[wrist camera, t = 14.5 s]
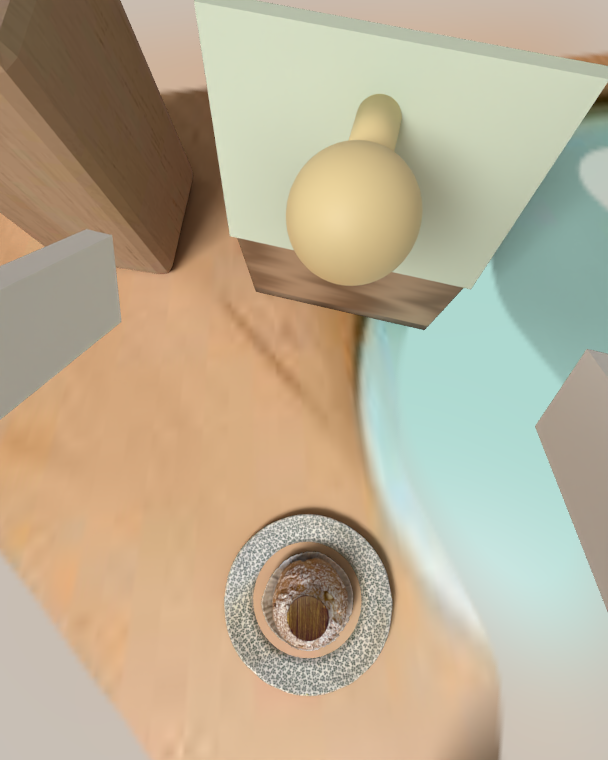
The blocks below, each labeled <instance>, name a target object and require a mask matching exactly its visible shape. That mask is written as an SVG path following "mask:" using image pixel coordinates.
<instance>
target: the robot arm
mask: <svg viewBox="0 0 608 760" xmlns="http://www.w3.org/2000/svg"><path fill="white" fill-rule="evenodd" d="M120 322H121V313H120V304H119V294H118V285H117V275H116V266H115V256H114V247H113V238H112V235H109V234H105V233H101V232H96V231H92V230H88V229H86V230H83V231H81V232H79V233H76V234H74V235H72V236H69V237H67V238H65V239H63V240H60V241H58V242H56V243H53V244H51V245H49V246H46V247H44V248H42V249H39V250H37V251H35V252H32V253H30V254H28V255H25V256H23V257H21V258H18V259H16V260H14V261H11V262H9V263H7V264H4V265H2V266H0V419H2V418H3V417H4V416H5V415H7V414H8V413H9V412H10V411H12V410H13V409H14V408H15V407H17V406H18V405H19V404H20V403H22V402H23V401H24V400H25V399H26V398H28V397H29V396H30V395H31V394H33V393H34V392H35V391H36V390H38V389H39V388H40V387H41V386H43V385H44V384H45V383H46V382H47V381H49V380H50V379H51V378H52V377H54V376H55V375H56V374H57V373H59V372H60V371H61V370H62V369H64V368H65V367H66V366H67V365H68V364H70V363H71V362H72V361H73V360H75V359H76V358H77V357H78V356H80V355H81V354H82V353H83V352H85V351H86V350H87V349H88V348H90V347H91V346H92V345H93V344H94V343H96V342H97V341H98V340H99V339H101V338H102V337H103V336H104V335H106V334H107V333H108V332H109V331H111V330H112V329H113V328H114V327H115V326H117V325H118V324H119V323H120ZM535 428H536V430H537V433H538V435H539V438H540V440H541V443H542V445H543V448H544V450H545V453H546V456H547V458H548V460H549V463H550V466H551V468H552V471H553V473H554V476H555V478H556V481H557V484H558V486H559V489H560V491H561V494H562V496H563V499H564V501H565V504H566V507H567V509H568V512H569V514H570V517H571V519H572V522H573V524H574V527H575V530H576V532H577V535H578V537H579V540H580V542H581V545H582V547H583V550H584V552H585V555H586V558H587V560H588V563H589V565H590V568H591V570H592V573H593V575H594V578H595V581H596V583H597V586H598V588H599V591H600V593H601V596H602V599H603V601H604V603H605V606H606V609H607V611H608V354H606V353H602V352H598V351H594V350H590V349H587V350H586V351H585V353H584V354H583V356H582V357H581V358H580V360H579V361H578V363H577V364H576V366H575V367H574V369H573V370H572V372H571V373H570V375H569V376H568V378H567V379H566V381H565V382H564V384H563V385H562V387H561V388H560V390H559V391H558V393H557V394H556V396H555V397H554V399H553V400H552V402H551V403H550V405H549V406H548V408H547V409H546V411H545V412H544V414H543V415H542V417H541V418H540V420H539V421H538V423H537V424H536V426H535Z"/></svg>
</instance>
